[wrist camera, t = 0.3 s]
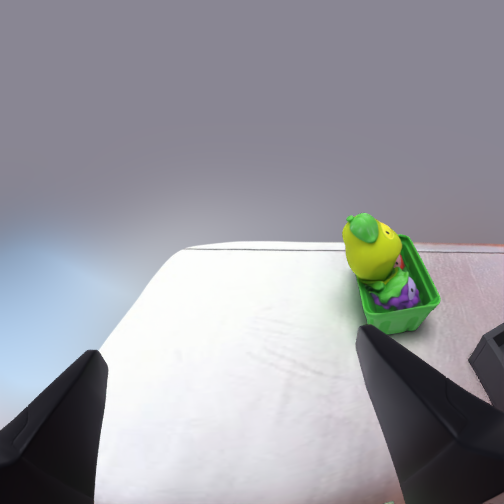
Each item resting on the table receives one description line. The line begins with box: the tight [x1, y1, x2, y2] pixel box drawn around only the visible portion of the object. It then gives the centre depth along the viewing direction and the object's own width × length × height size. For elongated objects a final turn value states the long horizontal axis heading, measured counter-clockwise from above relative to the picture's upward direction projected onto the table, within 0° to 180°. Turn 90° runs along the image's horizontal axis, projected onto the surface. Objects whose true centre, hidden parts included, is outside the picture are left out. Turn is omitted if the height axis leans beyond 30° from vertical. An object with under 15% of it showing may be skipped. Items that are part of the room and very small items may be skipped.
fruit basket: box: [342, 213, 440, 335], centre depth 25 cm, size 11×9×11 cm
